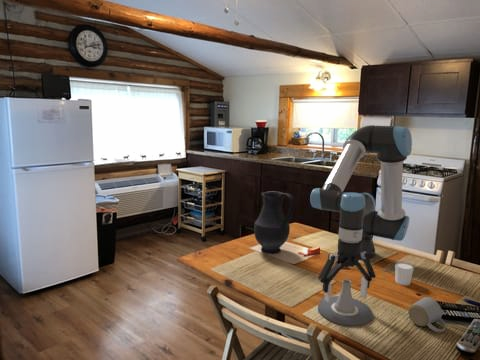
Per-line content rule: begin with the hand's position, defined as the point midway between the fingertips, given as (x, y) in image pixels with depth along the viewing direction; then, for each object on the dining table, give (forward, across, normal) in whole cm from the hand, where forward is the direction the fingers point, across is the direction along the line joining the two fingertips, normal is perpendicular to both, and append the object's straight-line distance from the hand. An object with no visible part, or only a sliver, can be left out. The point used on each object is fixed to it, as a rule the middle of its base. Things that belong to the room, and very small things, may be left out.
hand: (345, 298), depth 129 cm
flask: (+4, 0, 0) cm, 4 cm away
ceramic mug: (+5, +23, -13) cm, 27 cm away
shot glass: (+5, +35, +16) cm, 39 cm away
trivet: (+5, 0, 0) cm, 5 cm away
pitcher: (+5, -6, +58) cm, 59 cm away
